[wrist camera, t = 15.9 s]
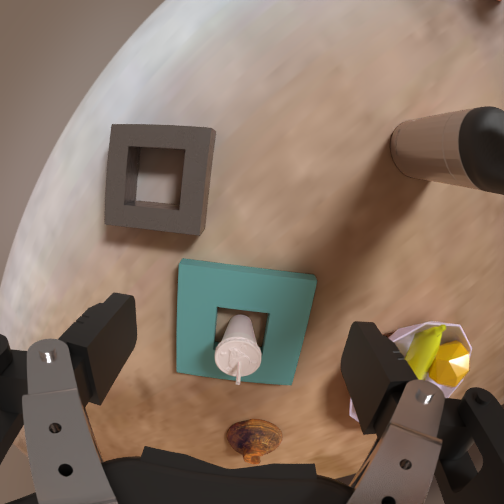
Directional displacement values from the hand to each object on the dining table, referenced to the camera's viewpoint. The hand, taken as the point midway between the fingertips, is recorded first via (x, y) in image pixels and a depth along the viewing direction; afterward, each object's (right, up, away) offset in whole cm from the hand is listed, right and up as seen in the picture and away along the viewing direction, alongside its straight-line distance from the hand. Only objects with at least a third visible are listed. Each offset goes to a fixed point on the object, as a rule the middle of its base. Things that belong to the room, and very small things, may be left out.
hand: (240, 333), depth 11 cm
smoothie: (-1, -9, +38) cm, 39 cm away
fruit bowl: (+31, -19, +41) cm, 54 cm away
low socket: (-1, -9, +38) cm, 39 cm away
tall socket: (-12, +14, +31) cm, 36 cm away
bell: (+1, -36, +46) cm, 59 cm away
